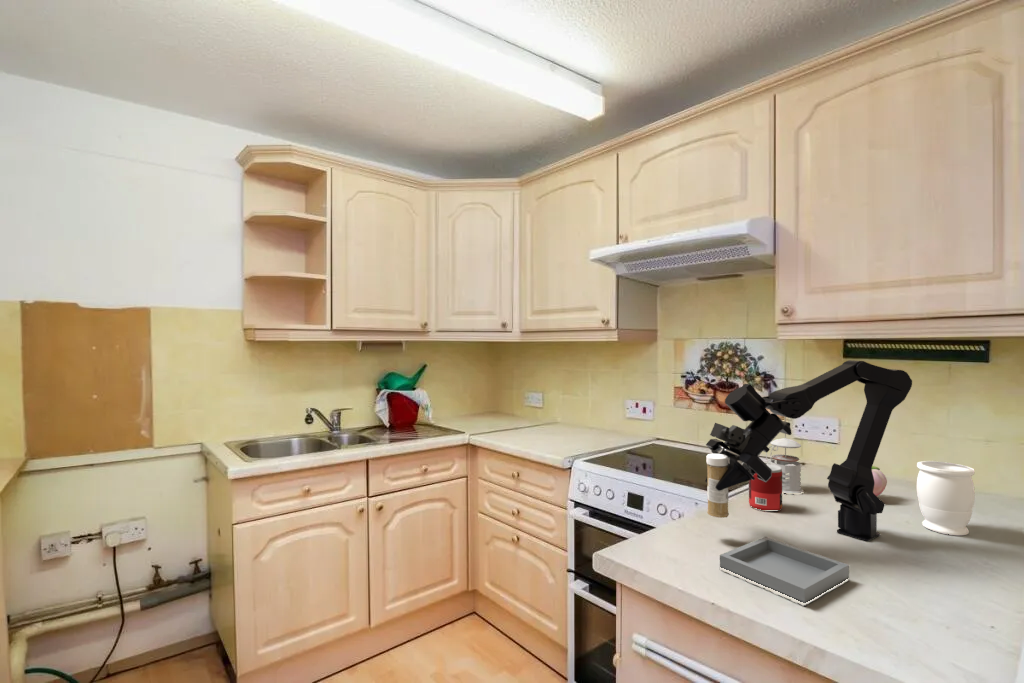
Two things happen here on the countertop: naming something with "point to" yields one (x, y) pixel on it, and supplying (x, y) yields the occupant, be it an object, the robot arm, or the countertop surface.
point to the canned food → (767, 490)
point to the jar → (945, 496)
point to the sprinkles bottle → (715, 471)
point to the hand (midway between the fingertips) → (711, 486)
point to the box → (785, 568)
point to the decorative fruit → (878, 481)
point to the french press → (794, 472)
